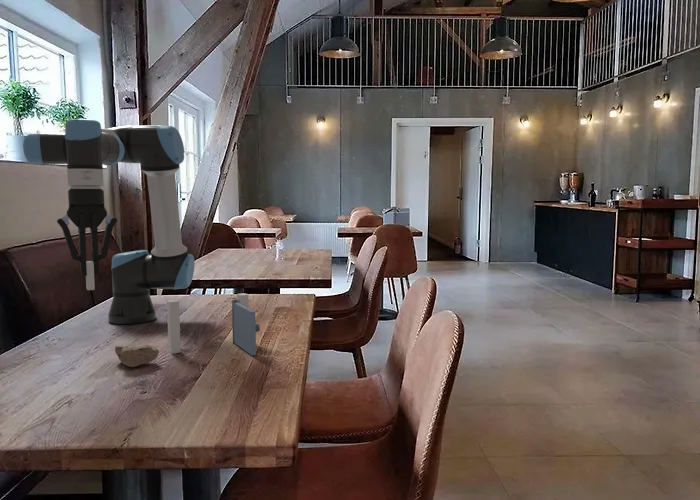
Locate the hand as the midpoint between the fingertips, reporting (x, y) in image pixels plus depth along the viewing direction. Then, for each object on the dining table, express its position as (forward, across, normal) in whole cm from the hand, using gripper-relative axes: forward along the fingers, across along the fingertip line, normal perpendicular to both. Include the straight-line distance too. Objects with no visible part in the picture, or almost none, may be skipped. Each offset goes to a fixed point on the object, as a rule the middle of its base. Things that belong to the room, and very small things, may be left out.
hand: (90, 289), depth 135 cm
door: (+21, +39, +10) cm, 45 cm away
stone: (+21, +12, 0) cm, 24 cm away
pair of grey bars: (+21, +28, +10) cm, 36 cm away
